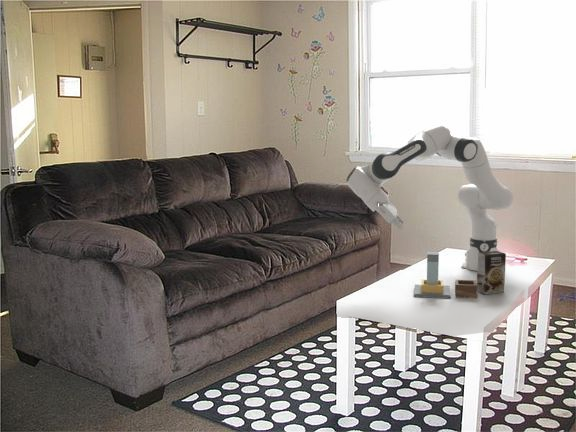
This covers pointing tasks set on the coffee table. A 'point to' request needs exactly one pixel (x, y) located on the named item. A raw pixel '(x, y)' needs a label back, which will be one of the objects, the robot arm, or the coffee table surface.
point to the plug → (432, 268)
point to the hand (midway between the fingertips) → (402, 225)
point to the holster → (466, 288)
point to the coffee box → (491, 272)
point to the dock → (432, 290)
